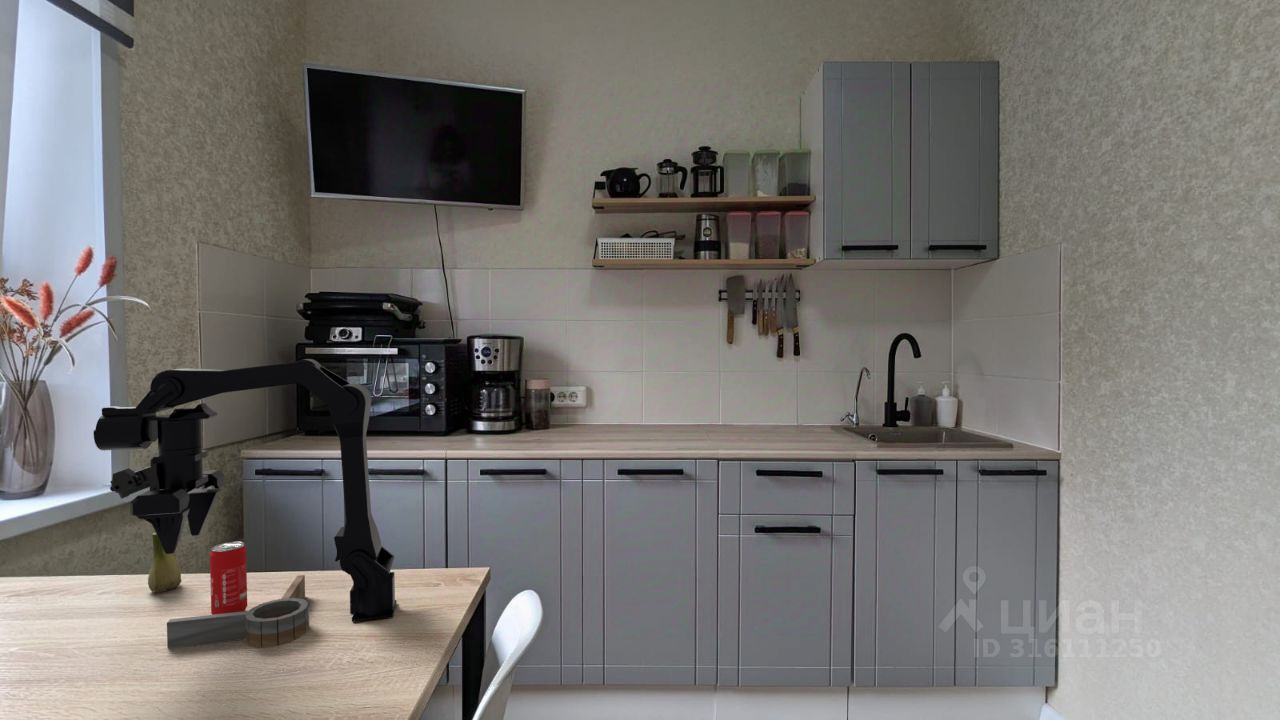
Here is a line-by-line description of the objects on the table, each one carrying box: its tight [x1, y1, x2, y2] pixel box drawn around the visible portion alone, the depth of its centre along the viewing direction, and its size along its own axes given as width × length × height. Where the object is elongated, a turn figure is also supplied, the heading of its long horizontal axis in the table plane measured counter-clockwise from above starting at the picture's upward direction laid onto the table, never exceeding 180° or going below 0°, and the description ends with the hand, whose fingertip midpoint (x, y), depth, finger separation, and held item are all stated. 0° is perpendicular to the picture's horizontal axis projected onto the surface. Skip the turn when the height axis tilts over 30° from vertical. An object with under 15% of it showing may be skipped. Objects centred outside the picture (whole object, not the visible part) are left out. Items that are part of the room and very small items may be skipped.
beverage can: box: [209, 541, 248, 615], centre depth 107 cm, size 5×5×12 cm
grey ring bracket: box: [166, 574, 310, 649], centre depth 104 cm, size 19×19×4 cm
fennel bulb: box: [147, 532, 182, 593], centre depth 118 cm, size 6×5×12 cm
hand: (183, 544), depth 100 cm, fingers open, 9 cm apart
